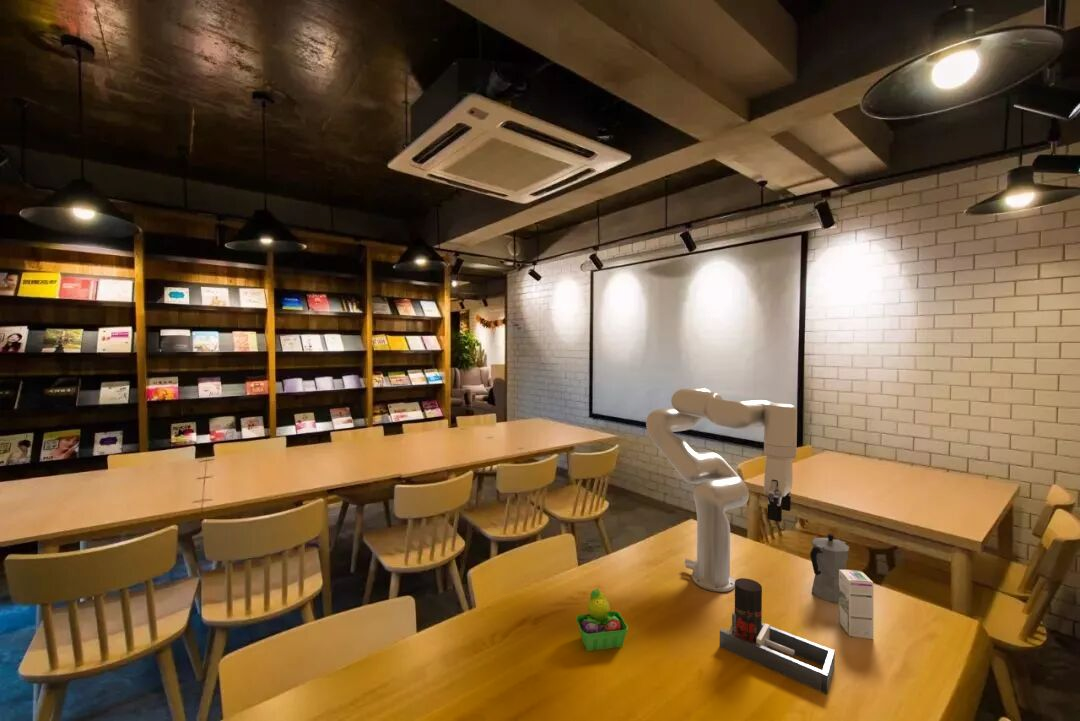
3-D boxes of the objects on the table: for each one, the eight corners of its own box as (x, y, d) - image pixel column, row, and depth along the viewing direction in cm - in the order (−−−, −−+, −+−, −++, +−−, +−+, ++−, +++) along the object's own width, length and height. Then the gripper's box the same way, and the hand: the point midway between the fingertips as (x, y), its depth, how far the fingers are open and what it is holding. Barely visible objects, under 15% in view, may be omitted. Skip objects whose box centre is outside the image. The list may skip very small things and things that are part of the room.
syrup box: (874, 639, 108) (875, 582, 108) (847, 636, 109) (848, 579, 109) (862, 625, 114) (863, 570, 113) (837, 622, 115) (838, 568, 115)
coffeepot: (827, 581, 135) (827, 524, 135) (860, 597, 127) (861, 536, 126) (795, 594, 128) (795, 533, 128) (828, 611, 120) (828, 546, 119)
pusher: (756, 657, 102) (756, 638, 101) (764, 641, 107) (765, 623, 107) (790, 671, 97) (790, 652, 97) (797, 654, 102) (797, 635, 102)
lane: (719, 646, 106) (719, 630, 106) (733, 627, 113) (733, 611, 113) (826, 694, 91) (827, 675, 91) (834, 667, 99) (834, 650, 99)
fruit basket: (583, 655, 103) (583, 608, 103) (574, 631, 112) (574, 588, 112) (629, 650, 105) (629, 604, 105) (616, 627, 114) (616, 584, 113)
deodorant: (729, 637, 109) (730, 578, 109) (752, 636, 110) (752, 577, 109) (742, 654, 103) (743, 592, 103) (766, 652, 104) (767, 590, 103)
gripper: (772, 443, 124) (772, 502, 124) (755, 454, 111) (754, 521, 111) (803, 447, 119) (802, 509, 119) (788, 459, 106) (787, 528, 107)
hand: (779, 514), depth 115 cm, fingers open, 9 cm apart
